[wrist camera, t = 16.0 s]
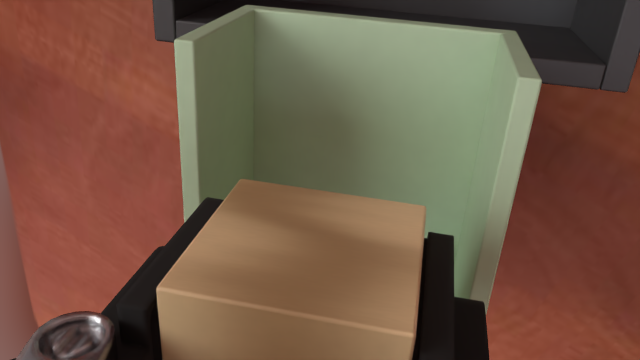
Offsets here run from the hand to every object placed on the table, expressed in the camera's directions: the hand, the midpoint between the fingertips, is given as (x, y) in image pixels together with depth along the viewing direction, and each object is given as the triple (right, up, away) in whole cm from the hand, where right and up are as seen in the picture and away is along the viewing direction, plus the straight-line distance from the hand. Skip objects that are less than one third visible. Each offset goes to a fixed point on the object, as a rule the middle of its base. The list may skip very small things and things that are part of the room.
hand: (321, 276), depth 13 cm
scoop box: (+1, 0, +7) cm, 7 cm away
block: (0, 0, 0) cm, 0 cm away
